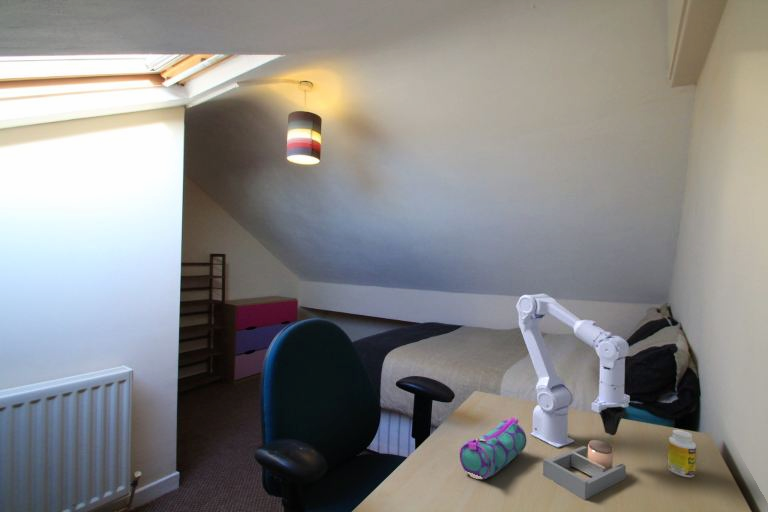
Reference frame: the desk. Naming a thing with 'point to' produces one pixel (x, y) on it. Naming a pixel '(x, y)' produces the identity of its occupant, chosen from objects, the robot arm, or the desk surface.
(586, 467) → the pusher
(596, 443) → the jar
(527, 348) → the robot arm
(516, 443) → the pencil case
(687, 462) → the supplement bottle
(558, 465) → the grey rectangular frame
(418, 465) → the desk surface
